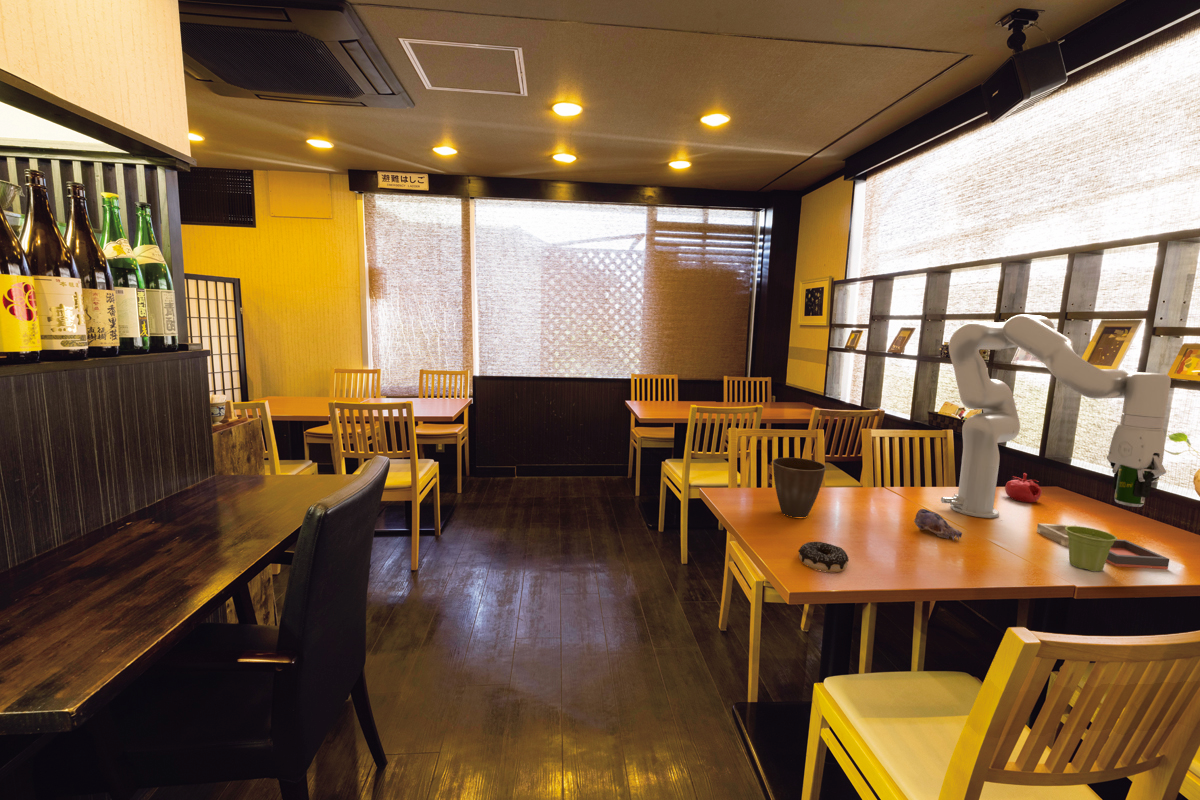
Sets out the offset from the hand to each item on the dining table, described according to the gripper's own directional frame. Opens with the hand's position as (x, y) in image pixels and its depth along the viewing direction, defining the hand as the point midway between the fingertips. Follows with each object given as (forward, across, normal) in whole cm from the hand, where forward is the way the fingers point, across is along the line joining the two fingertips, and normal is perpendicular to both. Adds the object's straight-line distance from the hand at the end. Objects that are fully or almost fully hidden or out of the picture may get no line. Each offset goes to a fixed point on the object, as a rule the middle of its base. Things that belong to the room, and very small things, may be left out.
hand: (1130, 492), depth 135 cm
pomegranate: (+17, -48, +8) cm, 52 cm away
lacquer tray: (+17, 0, 0) cm, 17 cm away
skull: (+18, -10, -40) cm, 45 cm away
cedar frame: (+17, -11, -4) cm, 21 cm away
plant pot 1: (+17, -20, -76) cm, 80 cm away
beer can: (+3, 0, 0) cm, 3 cm away
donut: (+18, +15, -79) cm, 82 cm away
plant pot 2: (+17, +7, -14) cm, 23 cm away
